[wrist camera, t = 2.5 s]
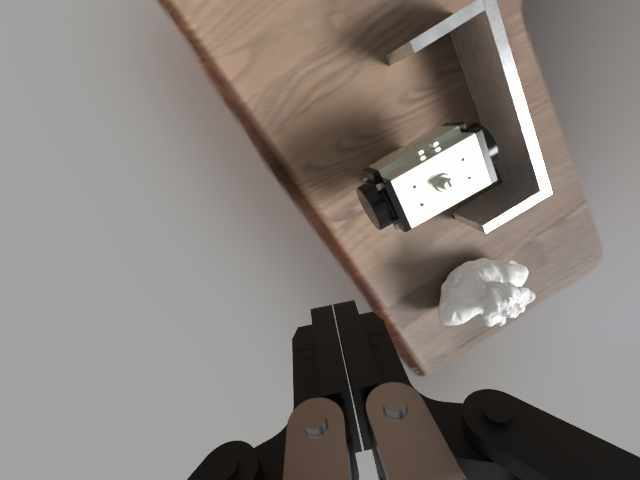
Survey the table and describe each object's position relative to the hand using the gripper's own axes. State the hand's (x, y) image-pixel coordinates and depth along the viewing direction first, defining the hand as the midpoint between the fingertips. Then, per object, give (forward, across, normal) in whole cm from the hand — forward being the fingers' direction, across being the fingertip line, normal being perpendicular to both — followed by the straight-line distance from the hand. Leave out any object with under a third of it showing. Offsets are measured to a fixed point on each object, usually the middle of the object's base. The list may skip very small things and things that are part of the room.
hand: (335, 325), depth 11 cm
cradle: (+28, -17, -1) cm, 33 cm away
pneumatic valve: (+27, -10, +2) cm, 29 cm away
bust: (+27, -18, +18) cm, 37 cm away
